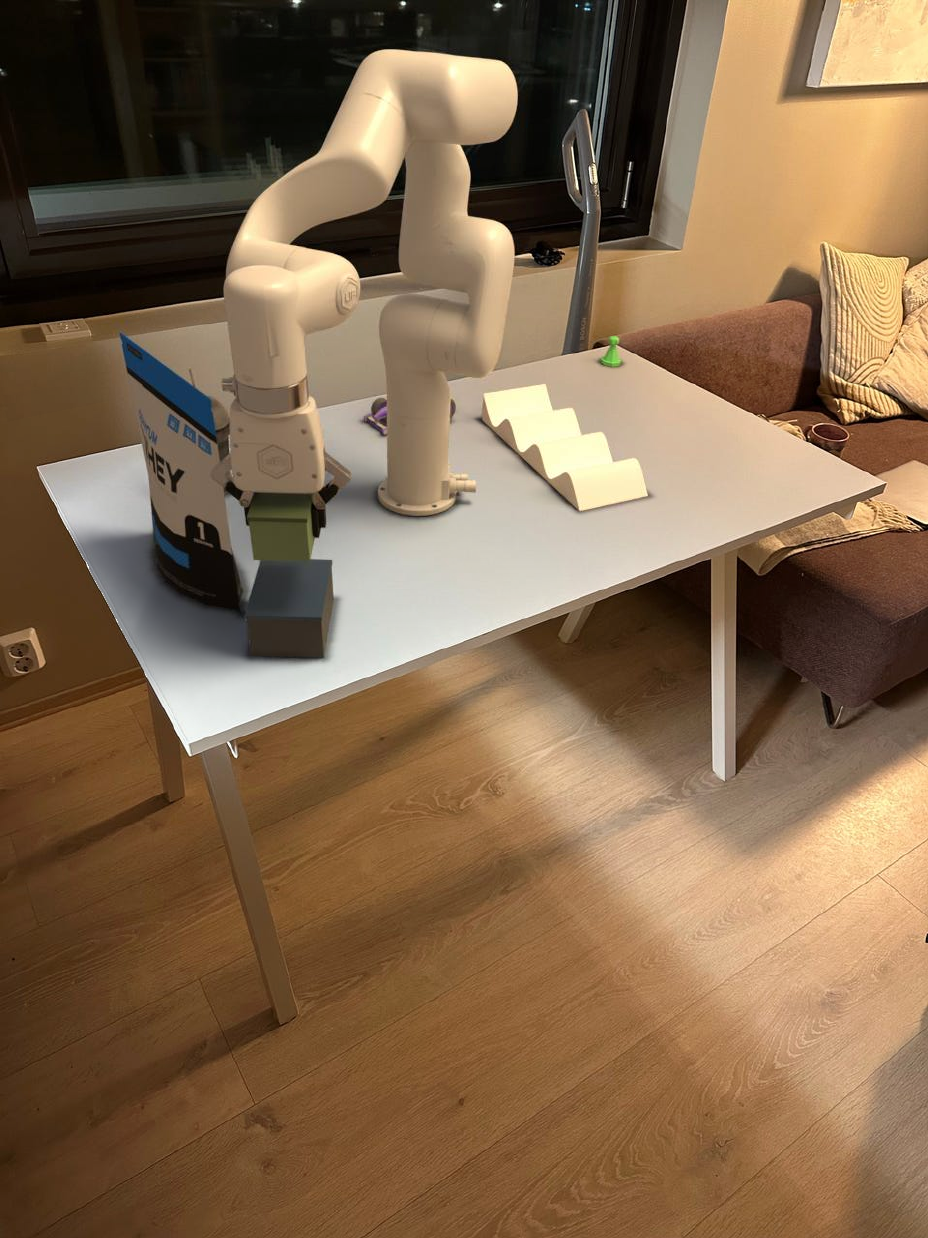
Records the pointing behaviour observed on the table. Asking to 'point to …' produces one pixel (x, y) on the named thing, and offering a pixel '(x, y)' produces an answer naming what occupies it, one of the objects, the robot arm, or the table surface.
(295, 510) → the olive green rectangular box
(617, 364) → the game piece
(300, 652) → the storage box
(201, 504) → the protein powder
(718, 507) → the table surface
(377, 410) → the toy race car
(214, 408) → the beverage cup
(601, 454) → the cream wavy block
